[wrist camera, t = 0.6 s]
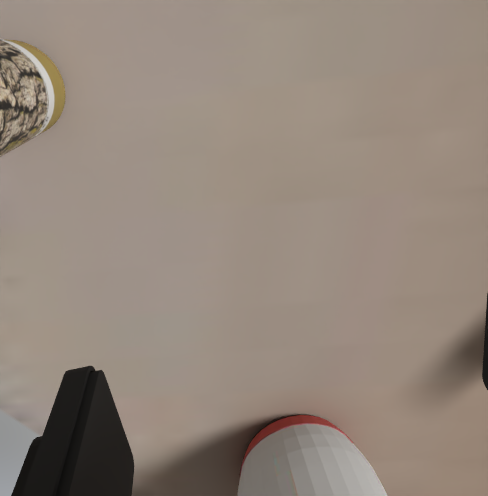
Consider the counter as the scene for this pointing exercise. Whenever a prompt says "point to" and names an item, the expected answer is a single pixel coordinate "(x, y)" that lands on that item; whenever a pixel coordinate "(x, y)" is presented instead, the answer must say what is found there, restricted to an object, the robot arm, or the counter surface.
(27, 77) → the paper tube
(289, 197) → the counter surface
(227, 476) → the counter surface
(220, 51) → the counter surface
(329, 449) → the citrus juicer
